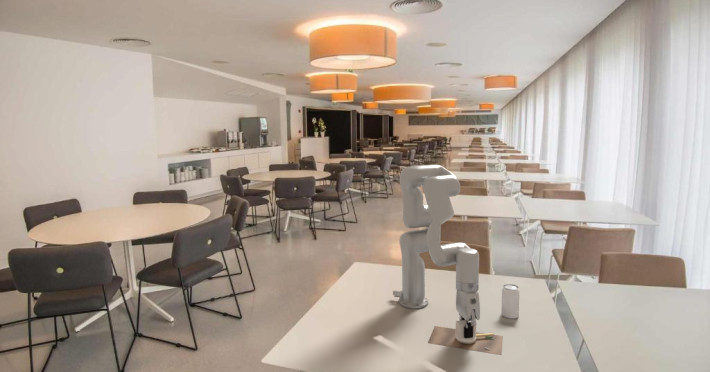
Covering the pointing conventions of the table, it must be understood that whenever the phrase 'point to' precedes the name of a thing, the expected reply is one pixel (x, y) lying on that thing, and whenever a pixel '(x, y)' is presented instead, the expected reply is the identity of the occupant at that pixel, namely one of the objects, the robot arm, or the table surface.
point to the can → (510, 301)
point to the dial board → (448, 339)
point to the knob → (460, 333)
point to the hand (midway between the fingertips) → (466, 334)
